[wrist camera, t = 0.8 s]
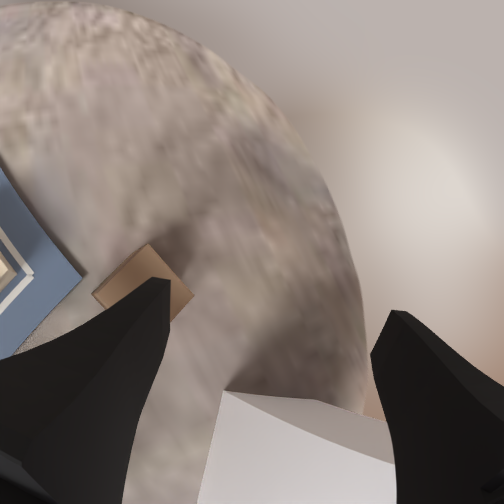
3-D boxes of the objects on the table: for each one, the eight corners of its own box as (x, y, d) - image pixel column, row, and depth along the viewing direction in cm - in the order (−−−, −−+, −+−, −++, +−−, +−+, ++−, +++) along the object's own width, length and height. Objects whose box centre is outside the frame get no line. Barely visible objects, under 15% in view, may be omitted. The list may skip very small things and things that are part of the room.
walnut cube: (133, 337, 22) (149, 346, 18) (91, 294, 21) (97, 293, 17) (171, 296, 24) (194, 295, 20) (132, 252, 23) (148, 243, 19)
